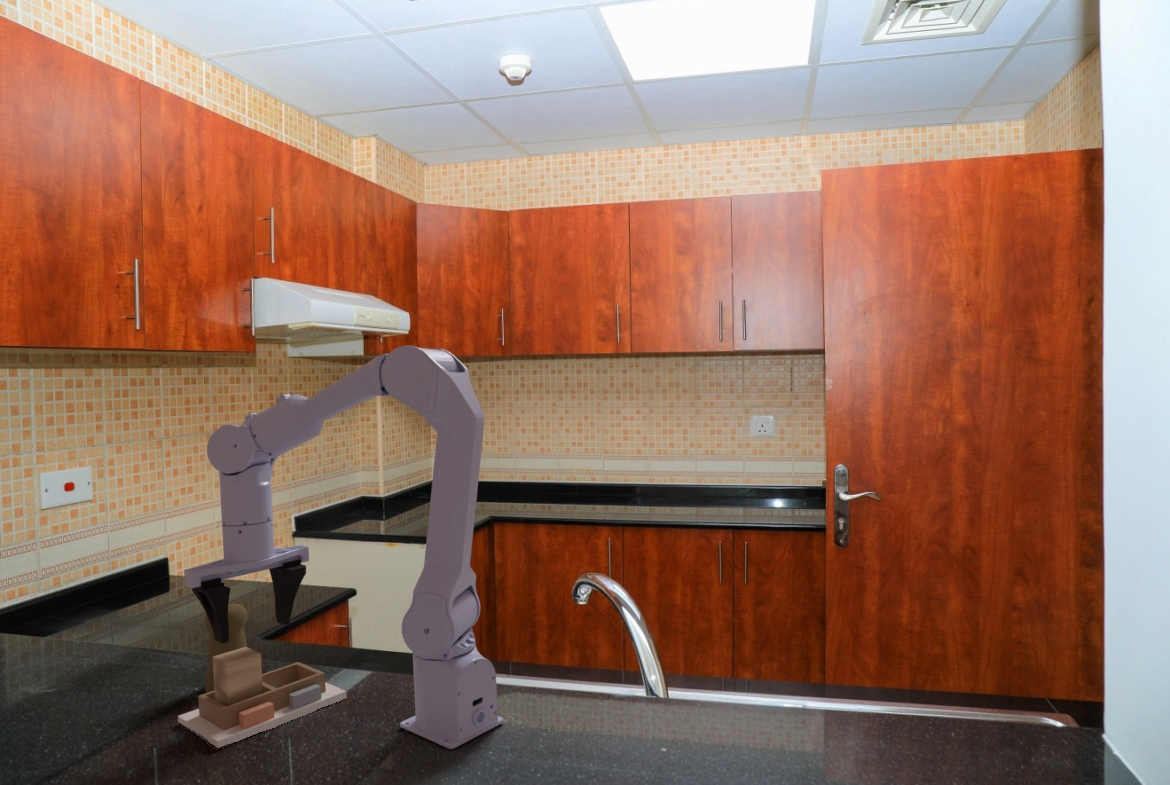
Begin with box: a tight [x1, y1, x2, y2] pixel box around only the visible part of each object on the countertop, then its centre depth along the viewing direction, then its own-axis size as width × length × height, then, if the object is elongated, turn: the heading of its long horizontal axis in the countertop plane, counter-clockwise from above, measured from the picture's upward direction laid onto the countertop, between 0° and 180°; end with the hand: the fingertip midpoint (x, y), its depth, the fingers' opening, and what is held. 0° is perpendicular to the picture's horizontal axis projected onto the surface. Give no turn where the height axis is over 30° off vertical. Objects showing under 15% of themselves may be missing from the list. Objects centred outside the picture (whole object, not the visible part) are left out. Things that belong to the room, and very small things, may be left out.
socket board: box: [177, 661, 347, 748], centre depth 90 cm, size 11×16×3 cm
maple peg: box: [213, 646, 263, 706], centre depth 88 cm, size 4×4×7 cm
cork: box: [204, 603, 248, 692], centre depth 99 cm, size 6×6×11 cm
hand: (253, 631), depth 89 cm, fingers open, 7 cm apart
